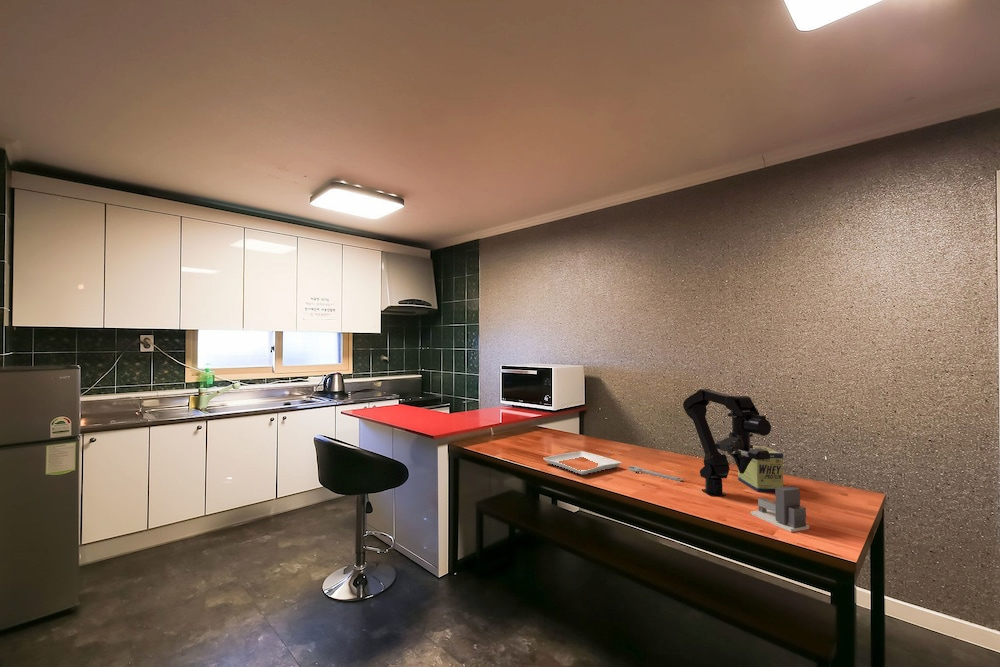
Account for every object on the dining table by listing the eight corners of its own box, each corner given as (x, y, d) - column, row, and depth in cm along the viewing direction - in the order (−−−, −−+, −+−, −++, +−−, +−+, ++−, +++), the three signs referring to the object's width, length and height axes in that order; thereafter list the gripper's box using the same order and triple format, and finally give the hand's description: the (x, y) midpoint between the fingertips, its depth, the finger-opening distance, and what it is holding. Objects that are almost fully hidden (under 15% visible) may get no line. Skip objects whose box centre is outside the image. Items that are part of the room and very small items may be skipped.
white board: (750, 514, 145) (750, 511, 145) (768, 511, 148) (768, 508, 148) (790, 532, 132) (790, 528, 132) (809, 529, 134) (809, 525, 134)
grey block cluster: (755, 511, 145) (755, 494, 146) (766, 509, 147) (766, 492, 147) (794, 528, 132) (794, 509, 132) (805, 526, 134) (805, 507, 134)
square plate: (622, 469, 199) (622, 461, 199) (582, 479, 183) (582, 470, 183) (581, 456, 221) (581, 449, 221) (542, 464, 205) (542, 456, 206)
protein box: (757, 492, 168) (757, 453, 168) (737, 479, 183) (737, 444, 184) (784, 492, 167) (783, 453, 168) (761, 480, 183) (761, 444, 183)
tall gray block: (775, 520, 137) (775, 487, 137) (791, 517, 139) (791, 485, 139) (784, 524, 134) (783, 490, 135) (800, 521, 136) (799, 488, 137)
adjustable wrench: (684, 482, 181) (684, 478, 181) (676, 485, 177) (677, 481, 177) (632, 468, 200) (632, 465, 200) (624, 471, 196) (624, 467, 196)
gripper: (703, 427, 160) (704, 468, 159) (746, 436, 142) (746, 483, 141) (726, 425, 163) (727, 465, 163) (770, 434, 145) (771, 480, 145)
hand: (741, 473), depth 153 cm, fingers closed
